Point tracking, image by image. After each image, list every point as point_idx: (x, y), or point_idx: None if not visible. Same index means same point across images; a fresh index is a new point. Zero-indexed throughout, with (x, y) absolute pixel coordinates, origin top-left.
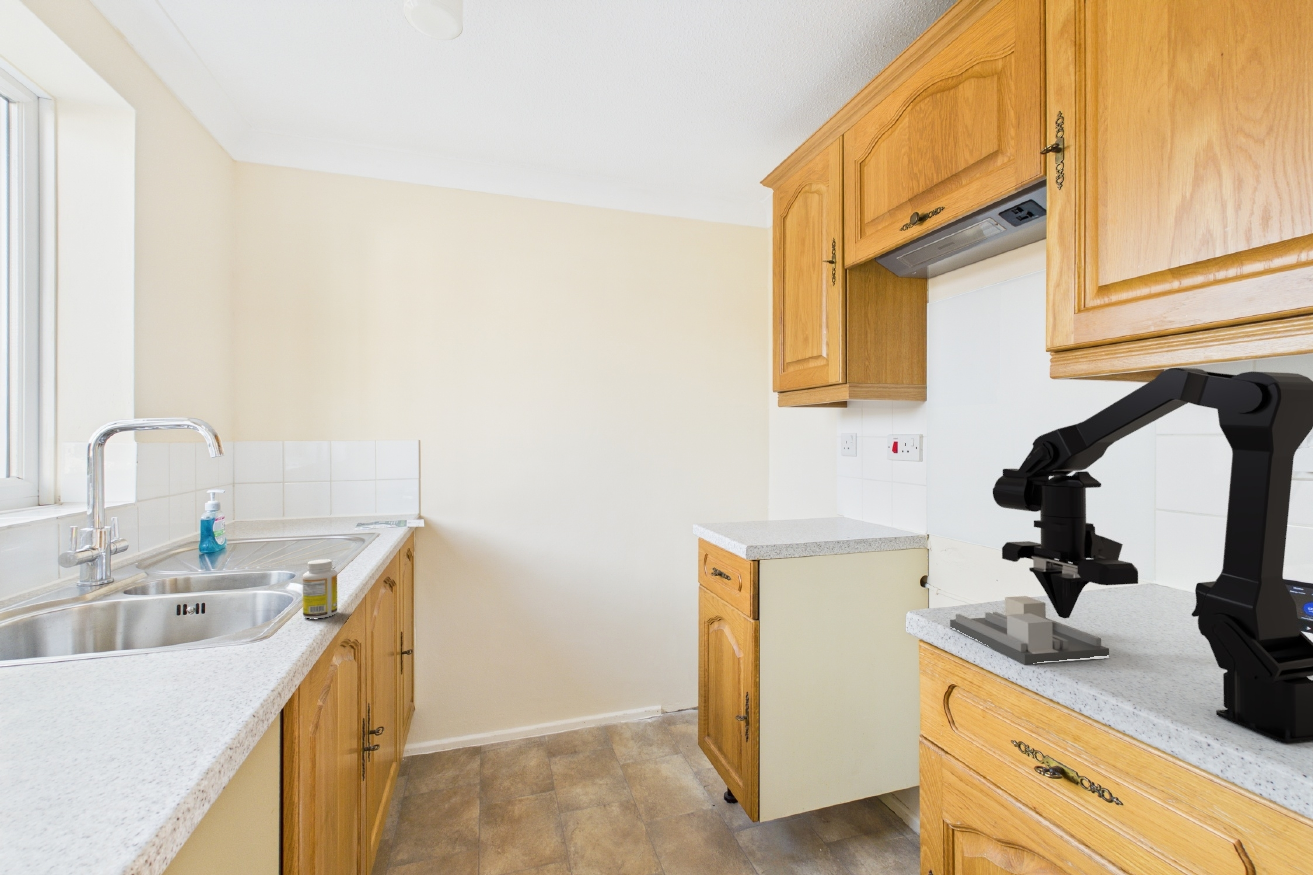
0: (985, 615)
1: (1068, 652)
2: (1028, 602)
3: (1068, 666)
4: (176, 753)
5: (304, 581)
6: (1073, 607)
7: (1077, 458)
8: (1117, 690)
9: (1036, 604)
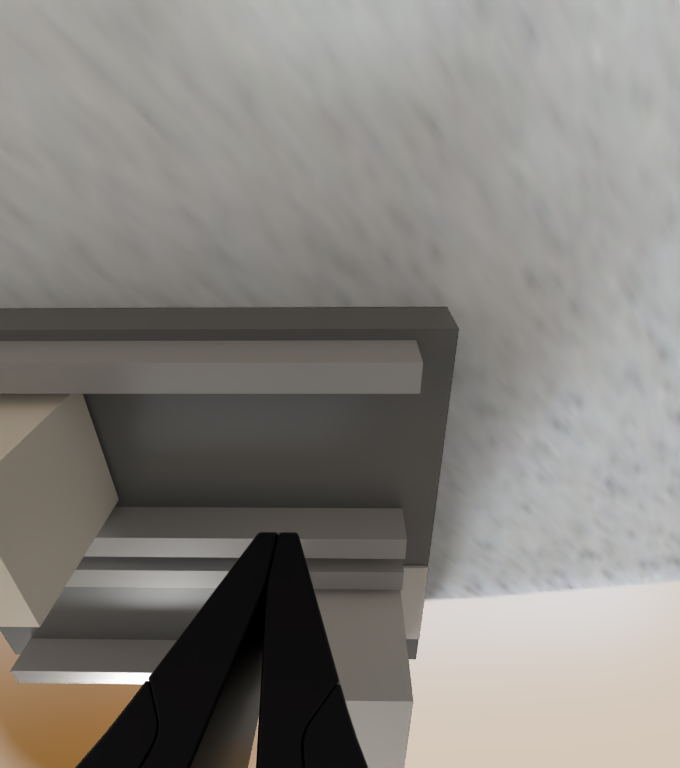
0: None
1: (432, 527)
2: None
3: (461, 525)
4: None
5: None
6: (313, 594)
7: None
8: (674, 537)
9: (7, 547)
